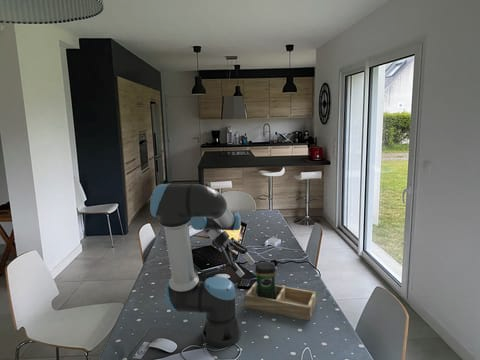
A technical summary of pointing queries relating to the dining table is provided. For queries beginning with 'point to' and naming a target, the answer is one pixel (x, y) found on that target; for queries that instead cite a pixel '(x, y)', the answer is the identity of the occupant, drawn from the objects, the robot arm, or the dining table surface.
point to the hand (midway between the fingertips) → (248, 269)
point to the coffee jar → (265, 280)
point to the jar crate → (284, 302)
